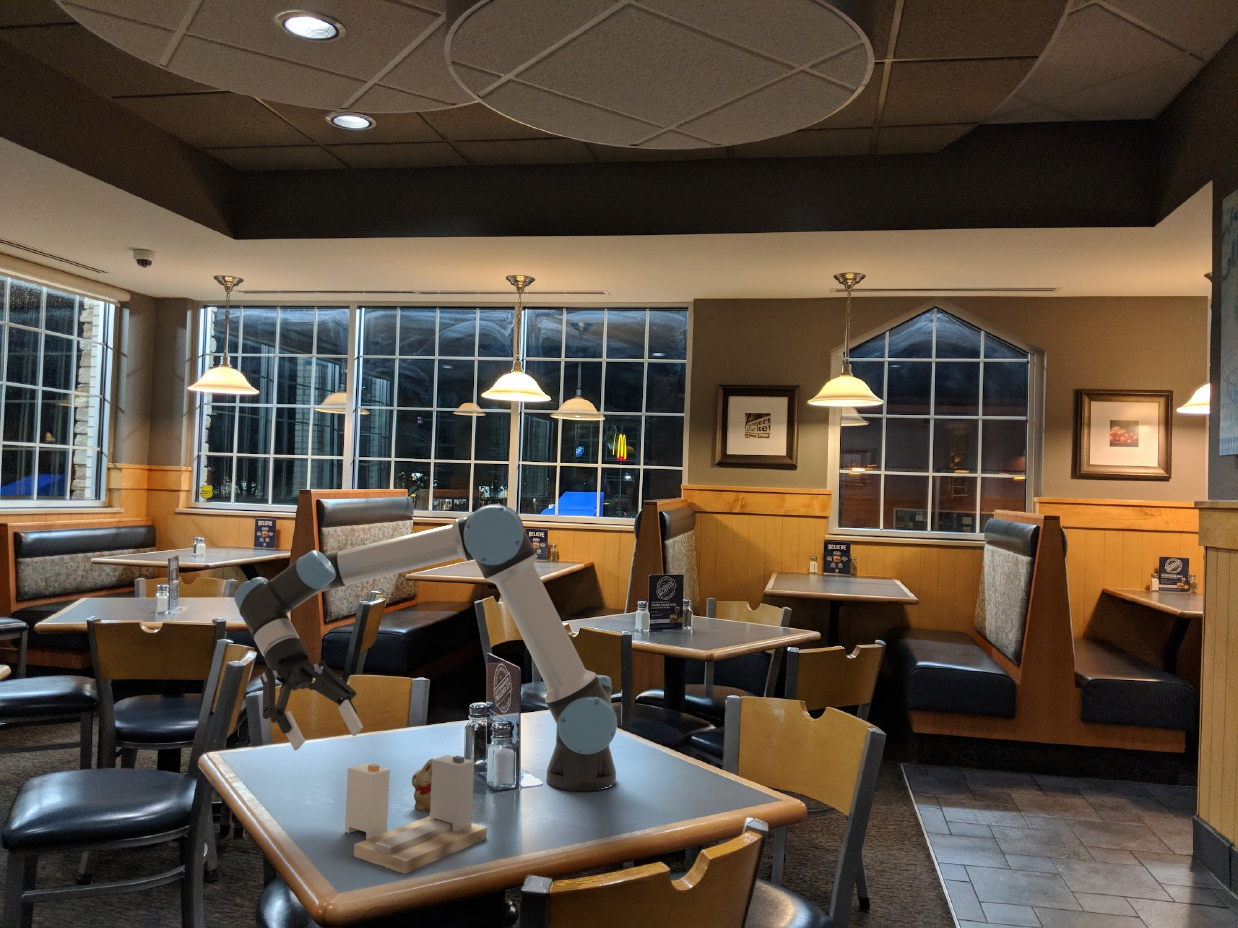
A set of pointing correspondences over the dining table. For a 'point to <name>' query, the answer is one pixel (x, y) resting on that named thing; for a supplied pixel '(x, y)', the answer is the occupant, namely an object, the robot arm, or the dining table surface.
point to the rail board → (417, 844)
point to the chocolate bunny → (423, 787)
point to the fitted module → (452, 791)
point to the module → (367, 799)
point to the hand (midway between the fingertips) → (330, 738)
